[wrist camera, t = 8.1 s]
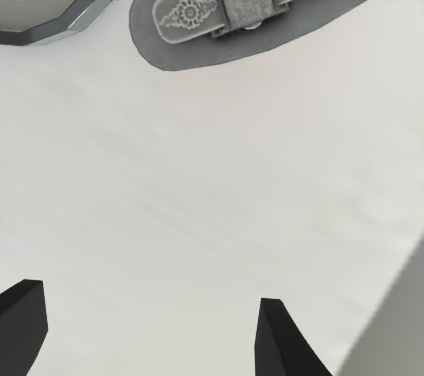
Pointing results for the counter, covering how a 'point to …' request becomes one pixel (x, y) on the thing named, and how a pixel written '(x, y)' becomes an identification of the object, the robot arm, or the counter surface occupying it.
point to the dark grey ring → (56, 25)
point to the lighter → (223, 28)
